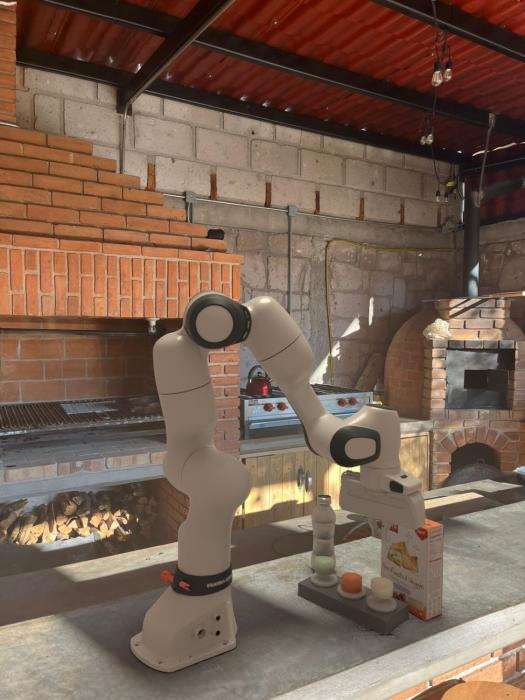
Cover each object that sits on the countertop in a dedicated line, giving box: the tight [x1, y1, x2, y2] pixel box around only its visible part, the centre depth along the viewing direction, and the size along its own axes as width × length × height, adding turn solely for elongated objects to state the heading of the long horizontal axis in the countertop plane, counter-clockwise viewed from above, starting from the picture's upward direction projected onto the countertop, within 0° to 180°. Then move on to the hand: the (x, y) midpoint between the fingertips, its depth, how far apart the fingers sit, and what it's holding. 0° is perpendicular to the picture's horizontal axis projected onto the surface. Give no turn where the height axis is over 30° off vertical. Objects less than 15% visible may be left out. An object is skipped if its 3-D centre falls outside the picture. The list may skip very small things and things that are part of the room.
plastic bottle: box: [310, 493, 337, 570], centre depth 142 cm, size 6×7×20 cm
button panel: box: [297, 572, 410, 636], centre depth 124 cm, size 10×24×4 cm, turn 46°
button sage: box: [313, 556, 335, 575], centre depth 129 cm, size 5×5×3 cm
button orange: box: [340, 571, 363, 593], centre depth 124 cm, size 5×5×3 cm
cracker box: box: [380, 517, 445, 622], centre depth 124 cm, size 14×6×21 cm, turn 33°
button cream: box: [370, 576, 393, 599], centre depth 118 cm, size 5×5×3 cm
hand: (379, 538), depth 119 cm, fingers closed
